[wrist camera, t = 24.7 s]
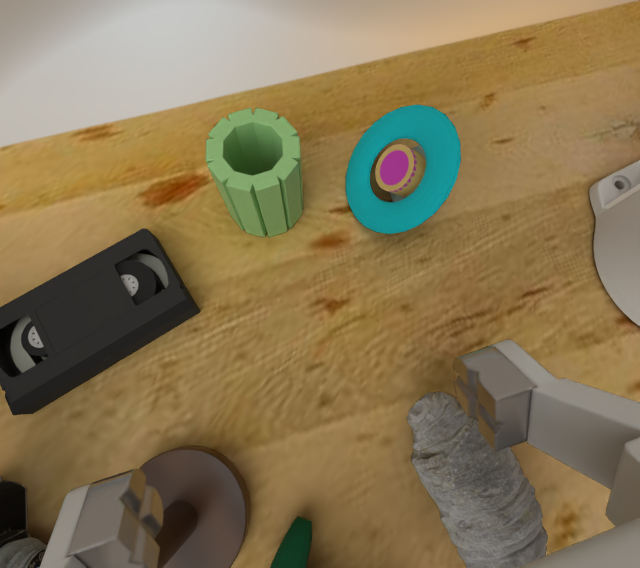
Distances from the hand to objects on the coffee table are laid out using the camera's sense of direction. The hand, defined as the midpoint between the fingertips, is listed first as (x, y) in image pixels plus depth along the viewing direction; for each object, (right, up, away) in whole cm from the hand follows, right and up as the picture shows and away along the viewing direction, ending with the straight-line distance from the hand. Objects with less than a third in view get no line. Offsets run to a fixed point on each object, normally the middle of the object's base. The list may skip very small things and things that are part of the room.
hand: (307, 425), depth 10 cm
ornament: (+7, +11, +25) cm, 28 cm away
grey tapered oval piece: (+11, -11, +19) cm, 24 cm away
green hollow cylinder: (-4, +11, +24) cm, 27 cm away
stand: (-9, -13, +18) cm, 24 cm away
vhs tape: (-17, +1, +22) cm, 28 cm away
